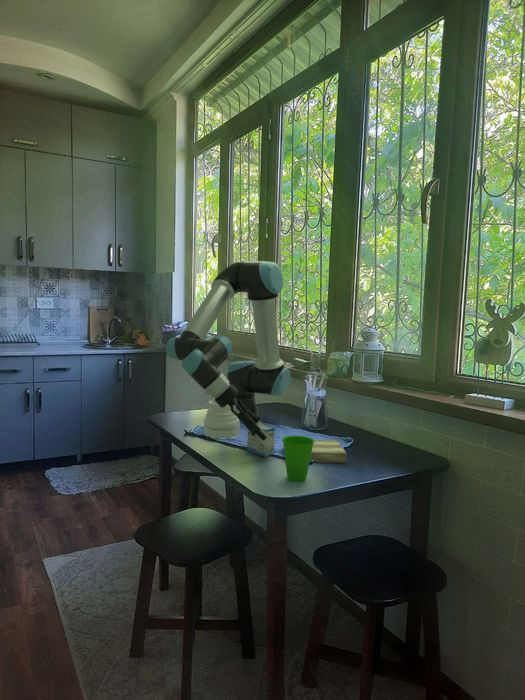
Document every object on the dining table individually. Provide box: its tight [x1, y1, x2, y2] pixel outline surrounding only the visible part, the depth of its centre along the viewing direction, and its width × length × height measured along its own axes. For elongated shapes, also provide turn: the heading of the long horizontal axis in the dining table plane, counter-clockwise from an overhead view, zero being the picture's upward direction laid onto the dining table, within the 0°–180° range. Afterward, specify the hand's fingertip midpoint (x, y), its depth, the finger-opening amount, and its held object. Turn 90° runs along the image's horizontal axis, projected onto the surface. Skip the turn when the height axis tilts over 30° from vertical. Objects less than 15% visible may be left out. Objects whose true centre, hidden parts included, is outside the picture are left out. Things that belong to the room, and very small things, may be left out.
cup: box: [281, 434, 315, 483], centre depth 135 cm, size 9×9×11 cm
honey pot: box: [203, 398, 241, 438], centre depth 176 cm, size 13×13×18 cm
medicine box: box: [246, 424, 276, 458], centre depth 156 cm, size 8×4×9 cm, turn 50°
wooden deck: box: [282, 439, 347, 464], centre depth 157 cm, size 14×18×3 cm
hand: (270, 441), depth 157 cm, fingers closed on medicine box, 8 cm apart
